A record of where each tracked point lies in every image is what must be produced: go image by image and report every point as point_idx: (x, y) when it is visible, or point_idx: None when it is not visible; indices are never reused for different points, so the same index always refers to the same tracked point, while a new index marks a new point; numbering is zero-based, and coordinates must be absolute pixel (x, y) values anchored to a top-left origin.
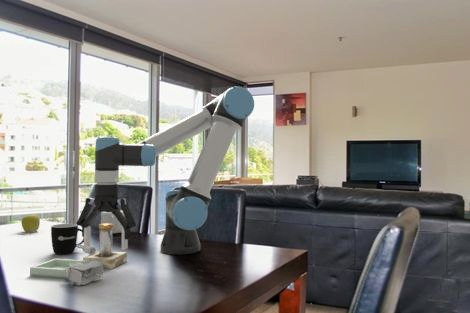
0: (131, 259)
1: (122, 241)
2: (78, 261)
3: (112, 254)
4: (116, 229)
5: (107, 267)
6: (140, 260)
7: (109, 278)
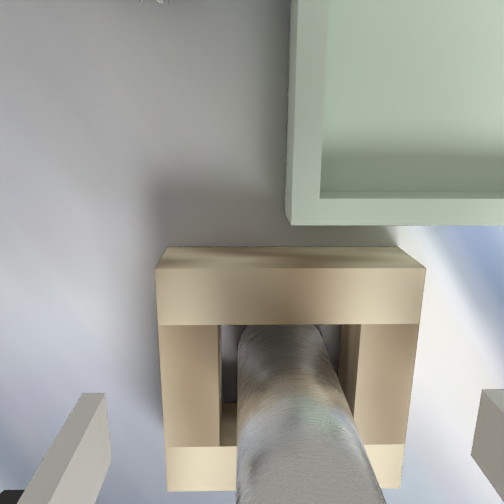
0: None
1: (63, 450)
2: (424, 197)
3: None
4: None
5: (197, 248)
6: None
7: (33, 13)
